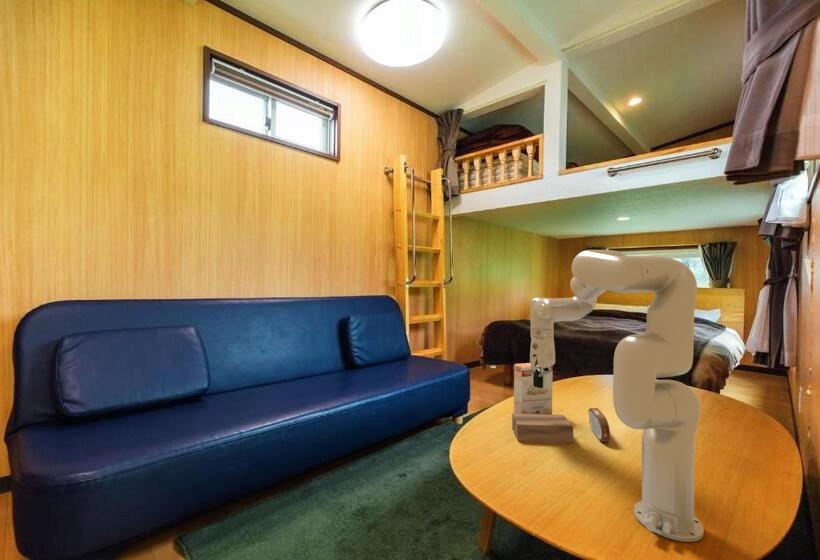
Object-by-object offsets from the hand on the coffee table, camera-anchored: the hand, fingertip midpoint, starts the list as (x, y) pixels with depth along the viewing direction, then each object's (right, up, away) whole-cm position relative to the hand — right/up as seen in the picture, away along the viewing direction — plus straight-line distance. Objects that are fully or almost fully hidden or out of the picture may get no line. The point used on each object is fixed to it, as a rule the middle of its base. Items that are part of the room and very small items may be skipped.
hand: (541, 385), depth 123 cm
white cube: (0, -1, 0) cm, 1 cm away
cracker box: (+3, -18, +17) cm, 25 cm away
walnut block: (0, -18, 0) cm, 18 cm away
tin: (+20, -18, 0) cm, 27 cm away
